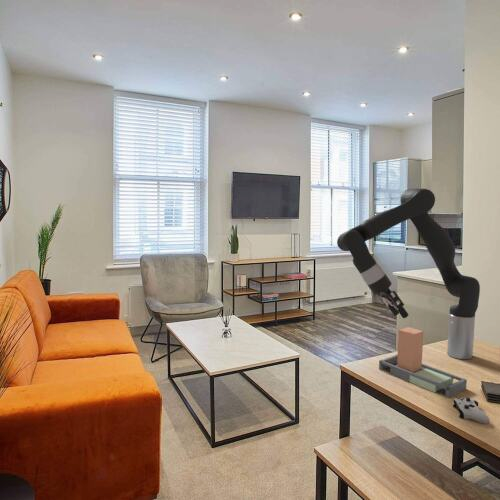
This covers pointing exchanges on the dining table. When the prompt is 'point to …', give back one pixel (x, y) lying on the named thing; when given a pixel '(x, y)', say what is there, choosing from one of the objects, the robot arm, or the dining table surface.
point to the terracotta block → (410, 349)
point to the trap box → (426, 377)
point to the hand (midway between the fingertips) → (401, 315)
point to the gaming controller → (470, 410)
